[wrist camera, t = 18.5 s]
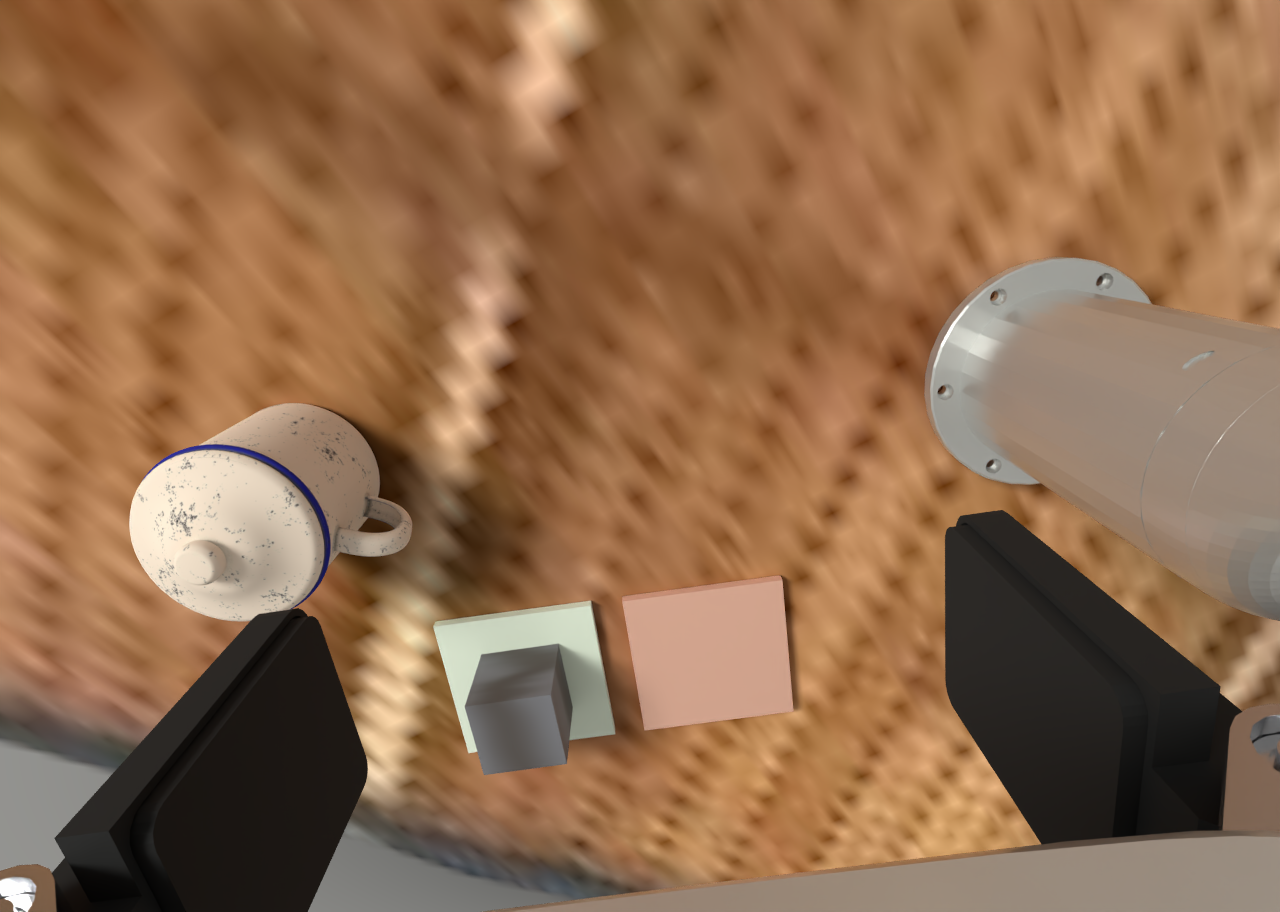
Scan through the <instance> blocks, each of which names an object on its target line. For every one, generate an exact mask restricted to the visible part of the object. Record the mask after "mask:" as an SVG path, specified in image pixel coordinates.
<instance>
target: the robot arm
mask: <svg viewBox="0 0 1280 912" xmlns="http://www.w3.org/2000/svg"><path fill="white" fill-rule="evenodd" d="M1097 279H1098V281H1097ZM1096 282H1097V283H1096ZM993 291H994V297H993V298H992V299H990V296H991V294H992V292H993ZM941 386H943V388H942V390H941V391H940V392H938V389H939V388H940V387H941ZM924 396H925V402H926V408H927V414H928V417H929V420H930V423H931V425H932V428H933V430H934V433H935V434H936V436H937V437H938V439H939V440H940V442H941V443H942V445H943V446H944V448H945V449H946V450H947V451H948V452H949V453H950V454H951V455H952V456H953V457H955V458H956V459H957V460H958V461H959V462H960V463H962V464H963V465H965V466H966V467H967V468H969V469H970V470H971V471H973V472H975V473H977V474H979V475H981V476H983V477H985V478H988V479H990V480H995V481H999V482H1003V483H1008V484H1024V485H1032V484H1039V483H1041V484H1043V485H1044V486H1046V487H1047V488H1049V489H1050V490H1051V491H1053V492H1054V493H1056V494H1057V495H1059V496H1060V497H1062V498H1063V499H1065V500H1066V501H1068V502H1069V503H1071V504H1072V505H1074V506H1075V507H1077V508H1078V509H1080V510H1081V511H1083V512H1084V513H1086V514H1087V515H1089V516H1090V517H1092V518H1093V519H1094V520H1096V521H1097V522H1099V523H1100V524H1102V525H1103V526H1105V527H1106V528H1108V529H1109V530H1111V531H1112V532H1114V533H1115V534H1117V535H1118V536H1120V537H1121V538H1123V539H1124V540H1126V541H1127V542H1129V543H1130V544H1132V545H1133V546H1135V547H1136V548H1138V549H1139V550H1140V551H1142V552H1143V553H1145V554H1146V555H1148V556H1149V557H1151V558H1152V559H1154V560H1155V561H1157V562H1158V563H1160V564H1161V565H1163V566H1164V567H1166V568H1167V569H1169V570H1170V571H1172V572H1173V573H1175V574H1176V575H1178V576H1179V577H1181V578H1183V579H1184V580H1186V581H1187V582H1189V583H1190V584H1192V585H1193V586H1195V587H1196V588H1198V589H1199V590H1201V591H1202V592H1204V593H1206V594H1207V595H1209V596H1211V597H1213V598H1215V599H1216V600H1218V601H1220V602H1222V603H1224V604H1226V605H1229V606H1231V607H1234V608H1236V609H1239V610H1241V611H1244V612H1246V613H1249V614H1253V615H1256V616H1261V617H1265V618H1269V619H1273V620H1277V621H1280V329H1278V328H1273V327H1267V326H1262V325H1257V324H1252V323H1247V322H1241V321H1236V320H1231V319H1226V318H1220V317H1215V316H1210V315H1205V314H1199V313H1194V312H1189V311H1184V310H1179V309H1173V308H1168V307H1163V306H1158V305H1152V303H1151V302H1150V300H1149V298H1148V296H1147V295H1146V294H1145V293H1144V292H1143V290H1142V289H1141V288H1140V287H1139V286H1138V285H1137V284H1136V282H1135V281H1133V280H1132V279H1131V278H1129V277H1128V276H1126V275H1125V274H1123V273H1122V272H1120V271H1119V270H1118V269H1115V268H1113V267H1110V266H1108V265H1105V264H1103V263H1100V262H1098V261H1092V260H1086V259H1080V258H1067V257H1051V258H1044V259H1037V260H1031V261H1028V262H1025V263H1022V264H1019V265H1016V266H1013V267H1011V268H1008V269H1006V270H1005V271H1003V272H1001V273H999V274H997V275H995V276H994V277H992V278H990V279H988V280H987V281H986V282H984V283H983V284H982V285H980V286H979V287H978V288H977V289H975V290H974V291H973V292H971V293H970V294H969V295H968V296H967V297H966V298H965V299H964V300H963V301H962V303H961V304H960V305H959V306H958V307H957V308H956V309H955V310H954V311H953V312H952V314H951V315H950V317H949V318H948V320H947V321H946V323H945V325H944V326H943V328H942V329H941V331H940V332H939V334H938V337H937V339H936V341H935V344H934V346H933V348H932V351H931V353H930V357H929V361H928V365H927V370H926V374H925V394H924ZM989 461H990V462H989ZM988 462H989V463H988ZM987 463H988V464H987ZM945 668H946V688H947V693H948V696H949V699H950V702H951V704H952V706H953V708H954V710H955V711H956V713H957V714H958V716H959V717H960V719H961V720H962V722H963V723H964V725H965V727H966V728H967V730H968V731H969V733H970V734H971V736H972V737H973V739H974V740H975V742H976V744H977V745H978V747H979V748H980V750H981V751H982V753H983V754H984V756H985V757H986V759H987V760H988V762H989V764H990V765H991V767H992V768H993V770H994V771H995V773H996V774H997V776H998V777H999V779H1000V781H1001V782H1002V784H1003V785H1004V787H1005V788H1006V790H1007V791H1008V793H1009V794H1010V796H1011V798H1012V799H1013V801H1014V802H1015V804H1016V805H1017V807H1018V808H1019V810H1020V811H1021V813H1022V815H1023V816H1024V818H1025V819H1026V821H1027V822H1028V824H1029V825H1030V827H1031V828H1032V830H1033V832H1034V833H1035V835H1036V836H1037V838H1038V839H1039V841H1040V842H1041V845H1032V846H1024V847H1015V848H1006V849H997V850H988V851H980V852H971V853H962V854H953V855H945V856H937V857H928V858H920V859H911V860H903V861H894V862H886V863H877V864H869V865H860V866H852V867H843V868H835V869H826V870H818V871H809V872H801V873H792V874H784V875H775V876H767V877H758V878H750V879H741V880H733V881H725V882H717V883H708V884H700V885H692V886H684V887H676V888H668V889H660V890H651V891H643V892H635V893H627V894H619V895H611V896H603V897H595V898H587V899H579V900H571V901H563V902H555V903H547V904H539V905H532V906H523V907H515V908H507V909H499V910H491V911H483V912H1280V704H1266V705H1261V706H1256V707H1251V708H1248V709H1246V710H1245V711H1243V712H1242V711H1241V710H1240V709H1239V708H1237V707H1236V706H1235V705H1234V704H1233V703H1231V702H1230V701H1229V700H1228V699H1226V698H1225V697H1224V696H1223V695H1222V694H1220V687H1221V686H1219V685H1218V684H1217V683H1216V682H1214V681H1213V680H1212V679H1211V678H1209V677H1208V676H1207V675H1206V674H1205V673H1203V672H1202V671H1201V670H1200V669H1198V668H1197V667H1196V666H1195V665H1193V664H1192V663H1191V662H1190V661H1189V660H1187V659H1186V658H1185V657H1184V656H1182V655H1181V654H1180V653H1179V652H1177V651H1176V650H1175V649H1174V648H1173V647H1171V646H1170V645H1169V644H1168V643H1166V642H1165V641H1164V640H1163V639H1162V638H1160V637H1159V636H1158V635H1157V634H1155V633H1154V632H1153V631H1152V630H1150V629H1149V628H1148V627H1147V626H1146V625H1144V624H1143V623H1142V622H1141V621H1139V620H1138V619H1137V618H1136V617H1134V616H1133V615H1132V614H1131V613H1130V612H1128V611H1127V610H1126V609H1125V608H1123V607H1122V606H1121V605H1120V604H1118V603H1117V602H1116V601H1115V600H1114V599H1112V598H1111V597H1110V596H1109V595H1107V594H1106V593H1105V592H1104V591H1102V590H1101V589H1100V588H1099V587H1098V586H1096V585H1095V584H1094V583H1093V582H1091V581H1090V580H1089V579H1088V578H1087V577H1085V576H1084V575H1083V574H1082V573H1080V572H1079V571H1078V570H1077V569H1075V568H1074V567H1073V566H1072V565H1071V564H1069V563H1068V562H1067V561H1066V560H1064V559H1063V558H1062V557H1061V556H1059V555H1058V554H1057V553H1056V552H1055V551H1053V550H1052V549H1051V548H1050V547H1048V546H1047V545H1046V544H1045V543H1043V542H1042V541H1041V540H1040V539H1039V538H1037V537H1036V536H1035V535H1034V534H1032V533H1031V532H1030V531H1029V530H1027V529H1026V528H1025V527H1024V526H1023V525H1021V524H1020V523H1019V522H1018V521H1016V520H1015V519H1014V518H1013V517H1012V516H1010V515H1009V514H1008V513H1006V512H1005V511H1003V510H999V511H992V512H985V513H977V514H970V515H963V516H960V517H959V519H958V521H957V524H956V527H949V528H948V529H947V531H946V535H945ZM367 771H368V766H367V759H366V755H365V752H364V749H363V747H362V744H361V741H360V738H359V735H358V732H357V729H356V726H355V724H354V721H353V718H352V715H351V712H350V709H349V706H348V703H347V701H346V698H345V695H344V692H343V689H342V686H341V683H340V680H339V678H338V675H337V672H336V669H335V666H334V663H333V660H332V657H331V654H330V652H329V649H328V646H327V643H326V640H325V637H324V634H323V631H322V629H321V626H320V624H319V622H318V620H317V619H316V618H315V617H313V616H309V617H308V616H307V614H306V613H305V612H304V611H303V610H301V609H299V608H297V609H290V610H283V611H276V612H269V613H262V614H258V615H257V616H255V617H254V618H253V619H252V620H251V621H250V622H249V623H248V625H247V626H246V627H245V628H244V629H243V630H242V631H241V632H240V633H239V635H238V636H237V637H236V638H235V639H234V640H233V641H232V642H231V643H230V645H229V646H228V647H227V648H226V649H225V650H224V651H223V652H222V653H221V654H220V656H219V657H218V658H217V659H216V660H215V661H214V662H213V663H212V664H211V666H210V667H209V668H208V669H207V670H206V671H205V672H204V673H203V674H202V676H201V677H200V678H199V679H198V680H197V681H196V682H195V683H194V684H193V685H192V687H191V688H190V689H189V690H188V691H187V692H186V693H185V694H184V695H183V697H182V698H181V699H180V700H179V701H178V702H177V703H176V704H175V705H174V707H173V708H172V709H171V710H170V711H169V712H168V713H167V714H166V715H165V716H164V718H163V719H162V720H161V721H160V722H159V723H158V724H157V725H156V726H155V728H154V729H153V730H152V731H151V732H150V733H149V734H148V735H147V736H146V738H145V739H144V740H143V741H142V742H141V743H140V744H139V745H138V746H137V747H136V749H135V750H134V751H133V752H132V753H131V754H130V755H129V756H128V757H127V759H126V760H125V761H124V762H123V763H122V764H121V765H120V766H119V767H118V769H117V770H116V771H115V772H114V773H113V774H112V775H111V776H110V777H109V779H108V780H107V781H106V782H105V783H104V784H103V785H102V786H101V787H100V788H99V790H98V791H97V792H96V793H95V794H94V795H93V796H92V797H91V799H90V800H89V801H88V802H87V803H86V804H85V805H84V806H83V808H82V809H81V810H80V811H79V812H78V813H77V814H76V815H75V816H74V817H73V818H72V819H71V821H70V822H69V823H68V824H67V825H66V826H65V827H64V828H63V829H62V831H61V832H60V833H59V834H58V835H57V836H56V837H55V840H56V842H57V843H58V845H59V847H60V849H61V851H62V852H63V854H64V856H65V859H64V860H63V861H62V862H61V863H60V864H59V865H58V867H57V868H56V869H55V870H54V871H53V872H51V871H50V869H48V868H46V867H43V866H41V865H38V864H32V865H19V866H15V867H11V868H8V869H4V870H1V871H0V912H308V910H309V907H310V905H311V903H312V901H313V899H314V897H315V894H316V892H317V890H318V887H319V885H320V883H321V881H322V879H323V877H324V874H325V872H326V870H327V868H328V865H329V863H330V861H331V859H332V857H333V854H334V852H335V850H336V848H337V846H338V843H339V841H340V839H341V837H342V835H343V832H344V830H345V828H346V826H347V823H348V821H349V819H350V817H351V815H352V812H353V810H354V808H355V806H356V804H357V801H358V799H359V797H360V795H361V792H362V790H363V788H364V786H365V783H366V779H367Z"/></svg>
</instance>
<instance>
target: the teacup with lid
mask: <svg viewBox="0 0 1280 912" xmlns="http://www.w3.org/2000/svg"><path fill="white" fill-rule="evenodd" d="M379 488H380V476H379V469H378V465H377V462H376V459H375V456H374V454H373V452H372V450H371V448H370V446H369V445H368V443H367V442H366V440H365V439H364V437H363V436H362V435H361V434H360V433H359V432H358V431H357V430H356V429H355V428H354V427H353V426H352V425H351V424H350V423H348V422H347V421H346V420H344V419H343V418H341V417H340V416H338V415H336V414H334V413H332V412H330V411H328V410H326V409H323V408H320V407H317V406H313V405H308V404H300V403H287V404H279V405H275V406H271V407H268V408H265V409H263V410H261V411H259V412H257V413H255V414H253V415H252V416H250V417H248V418H246V419H244V420H243V421H241V422H239V423H237V424H236V425H234V426H232V427H230V428H228V429H227V430H225V431H223V432H221V433H220V434H218V435H216V436H214V437H213V438H211V439H209V440H207V441H205V442H204V443H202V444H200V445H198V446H194V447H189V448H186V449H183V450H180V451H178V452H175V453H173V454H171V455H169V456H168V457H166V458H164V459H163V460H161V461H160V462H159V463H158V464H156V465H155V466H154V467H153V468H152V469H151V470H150V471H149V472H148V474H147V475H146V476H145V477H144V479H143V481H142V482H141V484H140V486H139V487H138V489H137V491H136V493H135V496H134V498H133V502H132V505H131V511H130V522H129V524H130V535H131V540H132V544H133V547H134V550H135V553H136V555H137V557H138V559H139V561H140V563H141V565H142V567H143V568H144V570H145V571H146V573H147V574H148V575H149V577H150V578H151V579H152V580H153V581H154V582H155V584H156V585H157V586H158V587H159V588H160V589H162V590H163V591H164V592H165V593H166V594H167V595H169V596H170V597H171V598H173V599H174V600H175V601H177V602H178V603H180V604H182V605H184V606H185V607H187V608H189V609H191V610H193V611H195V612H198V613H200V614H203V615H206V616H209V617H213V618H217V619H222V620H229V621H251V620H252V619H253V618H254V617H255V616H257V615H258V614H262V613H269V612H276V611H283V610H290V609H292V608H294V607H296V606H298V605H299V604H301V603H302V602H303V601H305V600H306V599H307V598H308V597H309V596H310V595H311V594H312V593H313V592H314V591H315V590H316V588H317V587H318V586H319V584H320V583H321V581H322V579H323V577H324V575H325V573H326V570H327V567H328V566H329V565H330V563H331V562H332V561H333V560H334V559H335V557H336V556H337V555H338V554H339V553H340V552H343V553H347V554H353V555H358V556H369V557H375V556H385V555H390V554H393V553H396V552H398V551H400V550H402V549H403V548H404V547H405V546H406V545H407V544H408V542H409V540H410V538H411V533H412V520H411V518H410V516H409V514H408V513H407V512H406V510H405V509H403V508H402V507H401V506H399V505H397V504H395V503H393V502H391V501H388V500H385V499H382V498H378V495H379ZM367 518H373V519H376V520H380V521H383V522H385V523H387V524H389V525H391V526H392V527H393V528H394V530H392V531H388V532H382V533H367V532H360V531H358V529H359V528H360V527H361V526H362V525H363V523H364V522H365V521H366V520H367Z"/></svg>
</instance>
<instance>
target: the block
mask: <svg viewBox="0 0 1280 912" xmlns="http://www.w3.org/2000/svg"><path fill="white" fill-rule="evenodd" d="M465 710H466V713H467V717H468V720H469V724H470V727H471V731H472V734H473V738H474V741H475V745H476V748H477V752H478V755H479V759H480V762H481V766H482V769H483V773H484V775H488V774H495V773H503V772H510V771H517V770H525V769H532V768H540V767H547V766H555V765H562V764H567V757H568V748H569V739H570V729H571V720H572V711H573V706H572V702H571V697H570V693H569V688H568V684H567V679H566V675H565V670H564V666H563V661H562V657H561V652H560V648H559V644H552V645H545V646H538V647H531V648H524V649H516V650H509V651H502V652H495V653H488V654H481V657H480V660H479V664H478V667H477V670H476V673H475V676H474V679H473V682H472V685H471V688H470V692H469V695H468V698H467V701H466V704H465Z"/></svg>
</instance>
